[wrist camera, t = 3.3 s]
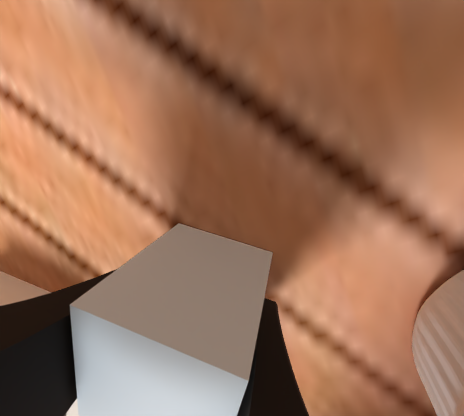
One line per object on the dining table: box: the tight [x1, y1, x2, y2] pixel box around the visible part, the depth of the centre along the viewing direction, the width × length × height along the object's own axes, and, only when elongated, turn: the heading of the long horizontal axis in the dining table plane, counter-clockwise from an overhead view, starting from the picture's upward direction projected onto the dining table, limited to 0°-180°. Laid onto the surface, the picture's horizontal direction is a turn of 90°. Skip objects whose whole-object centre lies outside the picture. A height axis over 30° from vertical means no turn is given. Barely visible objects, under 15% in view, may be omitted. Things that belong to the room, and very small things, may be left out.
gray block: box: [70, 223, 273, 416], centre depth 8 cm, size 4×4×6 cm
